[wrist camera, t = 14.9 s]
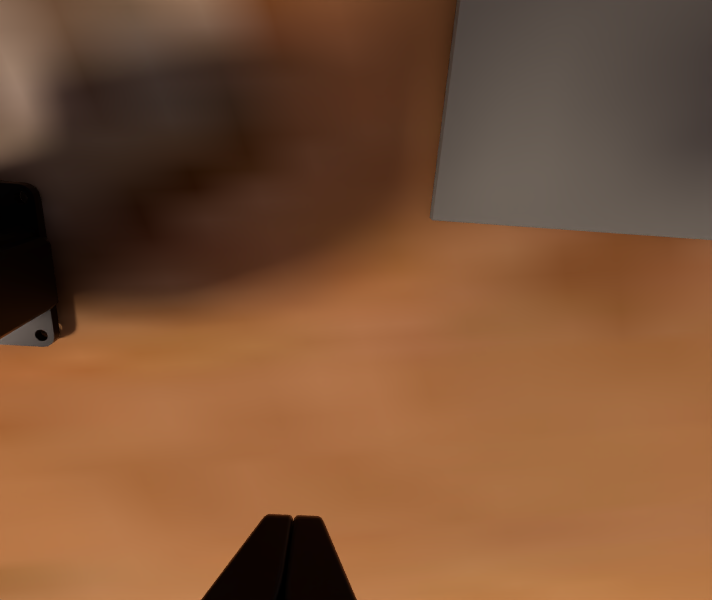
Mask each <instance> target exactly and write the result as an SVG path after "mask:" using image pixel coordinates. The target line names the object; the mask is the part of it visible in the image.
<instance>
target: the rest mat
mask: <svg viewBox="0 0 712 600" xmlns="http://www.w3.org/2000/svg"><path fill="white" fill-rule="evenodd" d="M430 218H431V219H432V220H438V221H452V222H466V223H480V224H494V225H508V226H522V227H536V228H550V229H564V230H578V231H593V232H607V233H621V234H635V235H649V236H663V237H677V238H691V239H705V240H712V0H457V4H456V12H455V20H454V28H453V36H452V44H451V52H450V60H449V68H448V76H447V84H446V92H445V100H444V108H443V116H442V124H441V132H440V140H439V148H438V156H437V164H436V172H435V180H434V188H433V196H432V204H431V212H430Z"/></svg>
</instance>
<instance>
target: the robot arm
mask: <svg viewBox="0 0 712 600" xmlns="http://www.w3.org/2000/svg"><path fill="white" fill-rule="evenodd" d="M21 191H22V192H24V193H25V194H26V196H27V198H28V199H27V202H26V203H25V202H24V201H23V200H21V197H20V192H21ZM57 303H58V296H57V289H56V282H55V275H54V267H53V260H52V253H51V245H50V243H49V242H48V240H47V238H46V231H45V224H44V216H43V209H42V202H41V196H40V193H39V191H38V190H37V189H36V188H35V187H34V186H33V185H31V184H28V183H22V182H8V181H0V344H3V345H21V346H39V347H45V346H49V345H51V344H52V343H53V342H55V341H56V340H57V339H58V338H59V333H60V332H59V325H58V317H57V310H56V304H57ZM41 330H44V331H45V332H46V333H47V335H48V337H45V336H44V335H42V333H41ZM201 600H357V599H356V597H355V595H354V592H353V590H352V588H351V585H350V583H349V580H348V578H347V576H346V573H345V571H344V569H343V566H342V564H341V562H340V559H339V557H338V554H337V552H336V550H335V547H334V545H333V543H332V540H331V538H330V536H329V533H328V531H327V528H326V526H325V524H324V521H323V520H322V518H321V517H319V516H305V515H298V516H296V517H295V518H294V521H293V518H292V516H290V515H281V514H268V515H266V516H265V517H264V518H263V519H262V520H261V521H260V523H259V524H258V525H257V527H256V528H255V529H254V531H253V532H252V533H251V535H250V536H249V537H248V539H247V540H246V541H245V543H244V544H243V545H242V547H241V548H240V549H239V550H238V552H237V553H236V554H235V556H234V557H233V558H232V560H231V561H230V562H229V564H228V565H227V566H226V568H225V569H224V570H223V572H222V573H221V574H220V576H219V577H218V578H217V580H216V581H215V582H214V584H213V585H212V586H211V588H210V589H209V590H208V591H207V593H206V594H205V595H204V597H203V598H202V599H201Z"/></svg>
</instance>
